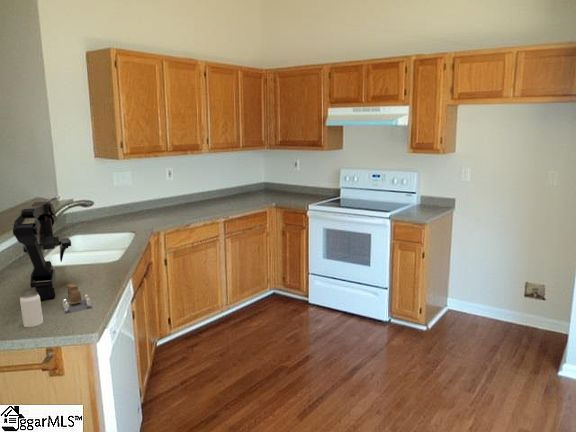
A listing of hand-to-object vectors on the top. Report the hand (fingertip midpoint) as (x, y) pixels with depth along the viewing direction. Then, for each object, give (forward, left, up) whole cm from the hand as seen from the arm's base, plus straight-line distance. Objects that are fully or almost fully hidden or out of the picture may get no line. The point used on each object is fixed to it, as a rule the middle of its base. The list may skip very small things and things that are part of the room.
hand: (49, 263), depth 206 cm
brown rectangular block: (+6, -23, -11) cm, 26 cm away
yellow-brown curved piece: (+6, -26, -12) cm, 29 cm away
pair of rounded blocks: (+6, -32, -12) cm, 34 cm away
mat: (+6, -29, -12) cm, 32 cm away
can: (-10, -38, -12) cm, 41 cm away
